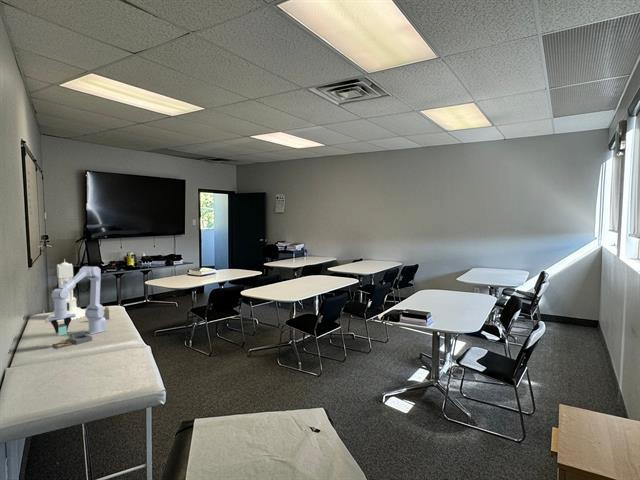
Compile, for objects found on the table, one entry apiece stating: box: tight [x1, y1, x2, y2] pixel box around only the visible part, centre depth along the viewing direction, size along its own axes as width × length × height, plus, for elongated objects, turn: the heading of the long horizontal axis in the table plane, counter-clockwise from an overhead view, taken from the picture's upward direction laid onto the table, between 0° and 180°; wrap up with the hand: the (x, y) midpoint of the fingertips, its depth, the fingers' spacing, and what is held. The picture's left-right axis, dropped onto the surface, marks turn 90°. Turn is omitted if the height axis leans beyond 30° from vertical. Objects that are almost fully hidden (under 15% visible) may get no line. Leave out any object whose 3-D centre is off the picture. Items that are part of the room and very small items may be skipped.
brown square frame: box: [52, 340, 73, 350], centre depth 213 cm, size 7×7×1 cm
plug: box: [55, 323, 68, 336], centre depth 212 cm, size 4×4×6 cm
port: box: [67, 330, 93, 345], centre depth 222 cm, size 8×13×4 cm, turn 53°
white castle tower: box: [45, 258, 86, 323], centre depth 273 cm, size 28×28×45 cm
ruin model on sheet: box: [103, 306, 110, 321], centre depth 264 cm, size 11×3×10 cm, turn 125°
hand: (61, 331), depth 212 cm, fingers closed on plug, 4 cm apart
